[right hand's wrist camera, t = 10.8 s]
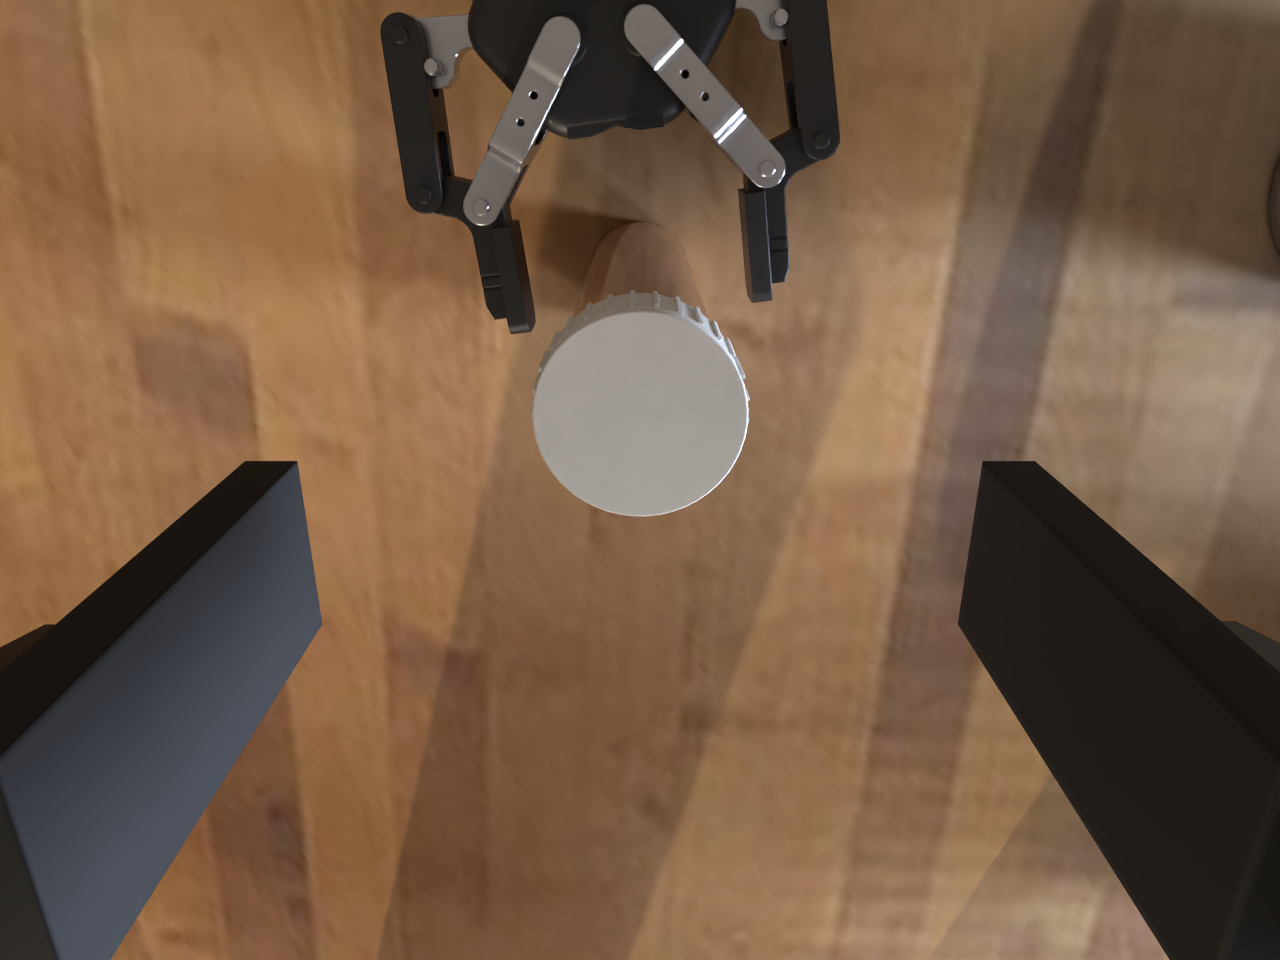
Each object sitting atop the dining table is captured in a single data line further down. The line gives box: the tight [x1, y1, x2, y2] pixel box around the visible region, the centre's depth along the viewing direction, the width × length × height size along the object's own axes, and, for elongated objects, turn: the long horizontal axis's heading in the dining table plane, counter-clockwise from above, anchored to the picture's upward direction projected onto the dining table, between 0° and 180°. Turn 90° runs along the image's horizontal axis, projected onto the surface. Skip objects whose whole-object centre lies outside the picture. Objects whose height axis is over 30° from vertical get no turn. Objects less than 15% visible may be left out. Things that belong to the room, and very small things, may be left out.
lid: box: [531, 290, 749, 516], centre depth 20 cm, size 5×5×2 cm
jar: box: [574, 222, 708, 318], centre depth 28 cm, size 4×4×19 cm
